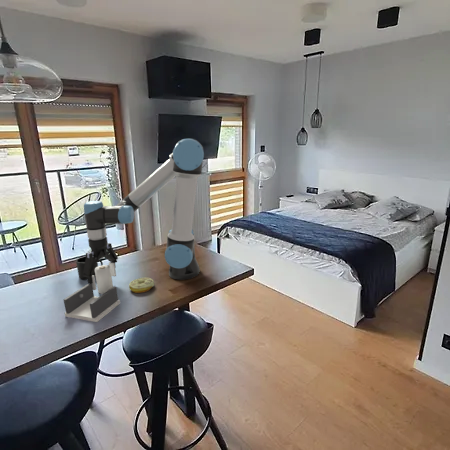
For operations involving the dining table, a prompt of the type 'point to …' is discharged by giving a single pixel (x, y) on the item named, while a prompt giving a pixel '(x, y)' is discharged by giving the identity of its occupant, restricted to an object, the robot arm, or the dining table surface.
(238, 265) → the dining table surface
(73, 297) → the cradle
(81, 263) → the mug
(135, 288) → the decorated donut
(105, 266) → the roll
